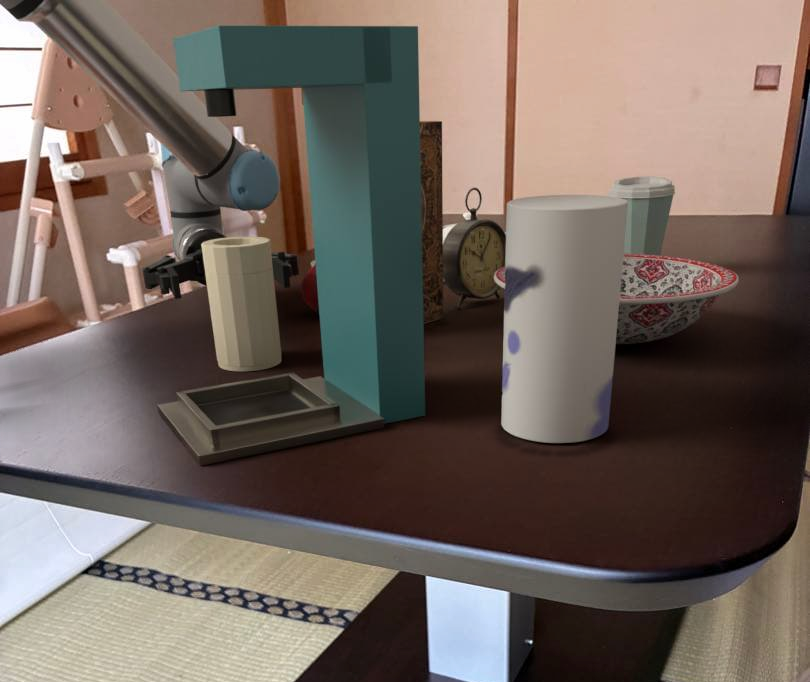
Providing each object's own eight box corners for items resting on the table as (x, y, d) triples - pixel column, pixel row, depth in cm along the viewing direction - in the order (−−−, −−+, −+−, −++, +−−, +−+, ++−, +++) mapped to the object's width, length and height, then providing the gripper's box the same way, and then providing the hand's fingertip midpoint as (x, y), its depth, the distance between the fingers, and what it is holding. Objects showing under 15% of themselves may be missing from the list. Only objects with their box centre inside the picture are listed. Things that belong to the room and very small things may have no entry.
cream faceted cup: (210, 360, 103) (194, 240, 96) (269, 350, 106) (257, 234, 99) (228, 375, 97) (212, 249, 90) (290, 365, 100) (278, 242, 93)
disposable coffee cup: (674, 279, 137) (685, 180, 130) (608, 281, 138) (616, 183, 131) (658, 268, 147) (668, 175, 140) (596, 269, 147) (603, 177, 140)
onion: (350, 315, 122) (347, 258, 118) (315, 322, 119) (311, 263, 115) (330, 308, 126) (326, 253, 122) (296, 314, 123) (291, 258, 119)
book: (420, 311, 122) (416, 121, 111) (448, 316, 119) (448, 121, 107) (338, 334, 112) (325, 127, 100) (367, 341, 109) (357, 126, 97)
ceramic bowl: (463, 360, 100) (463, 291, 96) (524, 306, 123) (526, 249, 120) (721, 381, 90) (732, 305, 86) (734, 318, 114) (743, 257, 110)
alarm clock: (459, 312, 121) (459, 192, 114) (434, 307, 125) (432, 189, 117) (511, 300, 128) (514, 185, 120) (485, 295, 131) (487, 183, 124)
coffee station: (158, 413, 86) (92, 39, 70) (362, 377, 95) (343, 38, 79) (200, 466, 73) (130, 24, 58) (430, 418, 82) (424, 25, 67)
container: (482, 418, 82) (485, 198, 72) (569, 402, 85) (583, 190, 76) (536, 452, 74) (547, 209, 64) (630, 433, 77) (653, 200, 68)
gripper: (295, 274, 127) (332, 302, 109) (124, 291, 120) (134, 323, 102) (290, 222, 123) (327, 241, 105) (114, 235, 116) (122, 259, 98)
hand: (232, 282), depth 103 cm, fingers open, 13 cm apart
